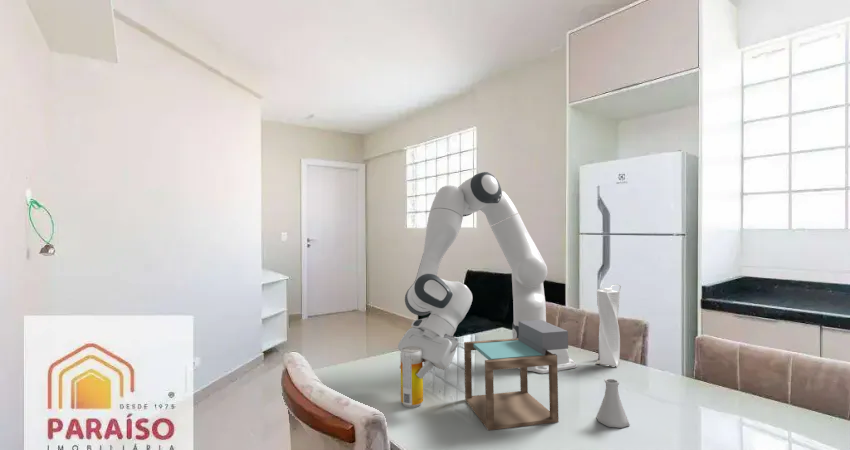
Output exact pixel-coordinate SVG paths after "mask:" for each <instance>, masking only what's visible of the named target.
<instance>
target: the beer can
mask: <svg viewBox="0 0 850 450" xmlns="http://www.w3.org/2000/svg"><path fill="white" fill-rule="evenodd" d="M399 358H400V365H401V369H400V401H401V403H402V406H404V407H405V408H417V407H420V406H422V403H423V402H424V377H423V378H422V379H420V378H418V377H417V376H416V375H415V373H416V372H417V370H418V369H421V368H422V367H423V366H424V365H423V364H424V362H423V359H422V350H421V348H420V347H417V346H407V347H403V348H402V351H400V357H399Z"/></svg>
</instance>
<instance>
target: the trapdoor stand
mask: <svg viewBox="0 0 850 450" xmlns="http://www.w3.org/2000/svg"><path fill="white" fill-rule="evenodd" d="M516 340H518V338H515V339H513V338H505V339H504V338H503V339H489V340H477V341H475V340H474V341H473V340H472V341H464V342H463V345H464V347H463V349H464V351H463V353H464V354H463V355H464V400H465V402H467V404H468V406H469V407H470V408H471V409H472V411H473V412H474V413H475V415H476V416H477V418H478V419H479V420H480V421H481V423H482V424H483V425H484V427H485V428H486V429H487V431H493V430H502V429H509V428H510V429H512V428H520V427H526V426H535V425H543V424H550V423H551V424H553V423H554V424H555V423H559V383H558V381H559V379H558V373H559V371H557V356H556V355H554V354H552V353H550V352H549V351H547V350H545V355H542V356H530V357H518V358H506V359H494V360H488V359H485V360H484V376H485V377H484V381H485V382H484V383H485V389H484V390H485V392H484V393H485V394H480V395H479V394H478V395H473V393H472V392H473V390H472V388H473V387H472V386H473V384H472V383H473V382H472V351H477V350H476V349H475V348H474V347H473V344H475V343H489V342H502V341H516ZM546 365H549V372H548V388H549V389H548V395H549V396H548V397H549V399H548V401H549V409H548V408H546V407H545V406H544V405H543V404H542V403H541V402H540V401H538V400H537V399H536V398H535V397H534V396H533V395H532V394H530V393H529V390H528V388H529V387H528V385H529V384H528V371H527V367H534V366H546ZM518 368H520V369H519V372H520V374H519V375H520V380H519V381H520V382H519V383H520V386H519V387H520V391H507V392H497V393H494V388H495V387H494V371H498V370H499V371H500V370H510V369H512V370H513V369H518Z"/></svg>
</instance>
